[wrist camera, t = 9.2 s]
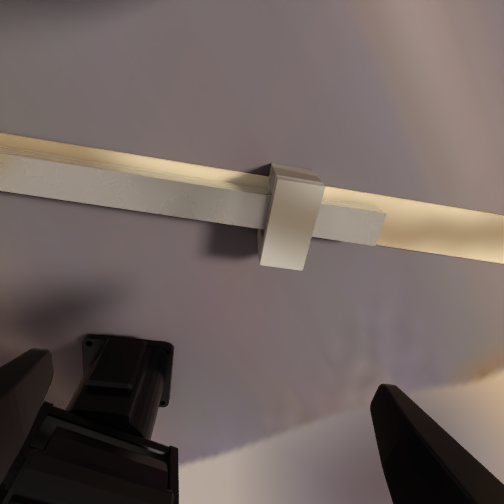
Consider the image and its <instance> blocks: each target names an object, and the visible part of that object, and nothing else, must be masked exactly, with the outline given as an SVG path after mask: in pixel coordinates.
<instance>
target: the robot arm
mask: <svg viewBox="0 0 504 504" xmlns="http://www.w3.org/2000/svg"><path fill="white" fill-rule="evenodd" d="M89 341H91V342H92V343H91V342H89ZM165 349H168V351H167V350H165ZM82 353H83V368H84V376H83V378H82V380H81V382H80V384H79V386H78V387H77V389H76V391H75V393H74V395H73V397H72V399H71V401H70V403H69V404H68V406H67V408H66V410H63V409H60V408H57V407H54V406H53V404H51V403H48V402H45V401H44V403H43V404H42V402H43V400H44V398H45V395H46V393H47V391H48V389H49V386H50V384H51V382H52V379H53V365H52V357H51V352H50V351H49V350H47V349H37V348H33V349H30V350H28V351H27V352H25V353H23V354H22V355H20V356H18V357H17V358H15V359H13V360H12V361H10V362H8V363H7V364H5V365H3V366H2V367H0V504H179V480H178V448H176V447H173V446H169V447H168V446H165V445H163V444H160V443H157V442H154V441H151V436H152V432H153V428H154V424H155V420H156V416H157V412H158V408H159V407H166V406H167V405H168V404H169V399H170V388H171V377H172V366H173V355H174V346H173V345H172V344H170V343H164V342H155V341H146V340H137V339H127V338H118V337H109V336H99V335H86V336H85V337H84V339H83V341H82ZM41 404H42V406H41ZM370 411H371V416H372V421H373V425H374V431H375V436H376V440H377V445H378V450H379V455H380V459H381V464H382V468H383V472H384V475H385V478H386V482H387V485H388V488H389V492H390V495H391V498H392V501H393V504H504V484H502V483H501V482H500V481H499V480H498V479H497V478H496V477H495V476H494V475H493V474H492V473H491V472H489V471H488V470H487V469H486V468H485V467H484V466H483V465H482V464H481V463H479V461H477V460H476V459H475V458H474V457H473V456H472V455H471V454H470V453H469V452H468V451H467V450H465V449H464V448H463V447H462V446H461V445H460V444H459V443H458V442H457V441H456V440H455V439H453V438H452V437H451V436H450V435H449V434H448V433H447V432H446V431H445V430H444V429H443V428H442V427H440V426H439V425H438V424H437V423H436V422H435V421H434V420H433V419H432V418H431V417H430V416H429V415H427V414H426V413H425V412H424V411H423V410H422V409H421V408H420V407H419V406H418V405H416V404H415V403H414V402H413V401H412V400H411V399H410V398H409V397H408V396H407V395H406V394H405V393H404V392H402V391H401V390H400V389H399V388H398V387H397V386H395V385H390V384H381V385H380V386H379V387H378V389H377V391H376V393H375V395H374V397H373V400H372V402H371V406H370Z"/></svg>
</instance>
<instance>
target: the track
mask: <svg viewBox="0 0 504 504" xmlns="http://www.w3.org/2000/svg"><path fill="white" fill-rule="evenodd" d="M0 146H4V147H10V148H16V149H22V150H29V151H35V152H41V153H47V154H54V155H60V156H66V157H72V158H79V159H85V160H91V161H97V162H104V163H110V164H116V165H122V166H128V167H135V168H141V169H147V170H153V171H160V172H166V173H172V174H178V175H185V176H191V177H197V178H203V179H209V180H216V181H222V182H228V183H234V184H241V185H247V186H253V187H259V188H266V189H271V191H272V197H271V202H270V207H269V212H268V217H267V222H266V227H265V230H263V229H258V234H257V244H258V253H259V262H260V265H264V266H272V267H279V268H286V269H294V270H301V271H302V270H303V267H304V263H305V260H306V256H307V252H308V249H309V245H310V241H311V238H312V234H313V230H314V227H315V223H316V219H317V216H318V212H319V209H320V205H321V201H322V198H328V199H334V200H340V201H347V202H353V203H359V204H365V205H372V206H378V207H379V208H380V209H381V210H382V211H383V212H384V213H385V214H387V215H386V218H385V220H384V223H383V226H382V228H381V231H380V234H379V236H378V239H377V242H376V245H381V246H388V247H394V248H401V249H408V250H415V251H421V252H428V253H435V254H442V255H448V256H455V257H462V258H469V259H476V260H482V261H489V262H496V263H503V264H504V215H499V214H493V213H487V212H481V211H475V210H469V209H463V208H457V207H451V206H445V205H439V204H432V203H426V202H420V201H414V200H408V199H402V198H396V197H390V196H384V195H378V194H372V193H366V192H360V191H353V190H347V189H341V188H335V187H329V186H324V184H323V183H322V182H321V181H320V180H319V178H318V177H317V176H316V175H315V173H314V172H313V171H312V170H310V169H304V168H298V167H292V166H286V165H280V164H274V163H271V168H270V173H269V177H268V176H262V175H256V174H250V173H244V172H238V171H232V170H226V169H220V168H214V167H207V166H201V165H195V164H189V163H183V162H177V161H171V160H165V159H159V158H153V157H147V156H141V155H134V154H128V153H122V152H116V151H110V150H104V149H98V148H92V147H86V146H80V145H74V144H68V143H61V142H55V141H49V140H43V139H37V138H31V137H25V136H19V135H13V134H7V133H1V132H0Z"/></svg>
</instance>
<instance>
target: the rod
mask: <svg viewBox="0 0 504 504" xmlns="http://www.w3.org/2000/svg"><path fill="white" fill-rule="evenodd" d="M0 191H5V192H12V193H19V194H26V195H33V196H39V197H46V198H53V199H60V200H66V201H73V202H80V203H87V204H94V205H100V206H107V207H114V208H121V209H128V210H134V211H141V212H148V213H155V214H162V215H168V216H175V217H182V218H189V219H196V220H202V221H209V222H216V223H223V224H230V225H236V226H243V227H250V228H257V229H263V230H265V227H266V222H267V217H268V212H269V207H270V202H271V197H272V191H271V189H266V188H259V187H253V186H247V185H241V184H234V183H228V182H222V181H216V180H209V179H203V178H197V177H191V176H185V175H178V174H172V173H166V172H160V171H153V170H147V169H141V168H135V167H128V166H122V165H116V164H110V163H104V162H97V161H91V160H85V159H79V158H72V157H66V156H60V155H54V154H47V153H41V152H35V151H29V150H22V149H16V148H10V147H4V146H0ZM386 215H387V214H385V213H384V212H383V211H382V210H381V209H380V208H379V207H378V206H372V205H365V204H359V203H353V202H347V201H340V200H334V199H328V198H322V201H321V205H320V209H319V212H318V216H317V219H316V223H315V227H314V230H313V234H312V237H318V238H325V239H331V240H338V241H345V242H352V243H359V244H365V245H372V246H375V245H376V242H377V239H378V236H379V234H380V231H381V228H382V226H383V223H384V220H385V218H386Z"/></svg>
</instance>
